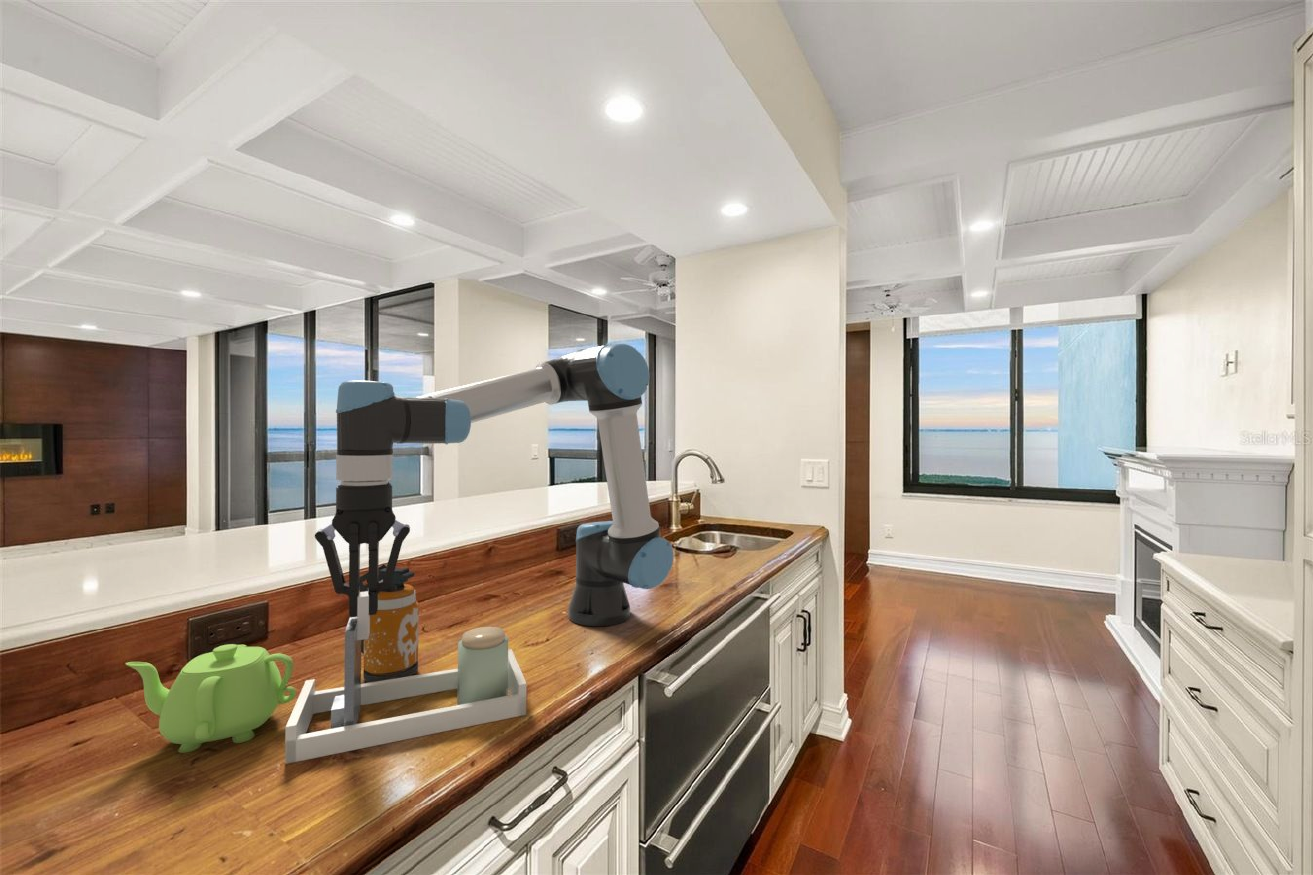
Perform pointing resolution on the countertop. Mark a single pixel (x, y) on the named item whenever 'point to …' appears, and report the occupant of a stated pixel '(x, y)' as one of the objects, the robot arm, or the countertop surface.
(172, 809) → the countertop surface
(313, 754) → the white rectangular frame
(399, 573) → the canister
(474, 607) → the countertop surface
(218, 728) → the teapot
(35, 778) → the countertop surface
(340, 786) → the countertop surface
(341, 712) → the panel
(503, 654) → the jar
